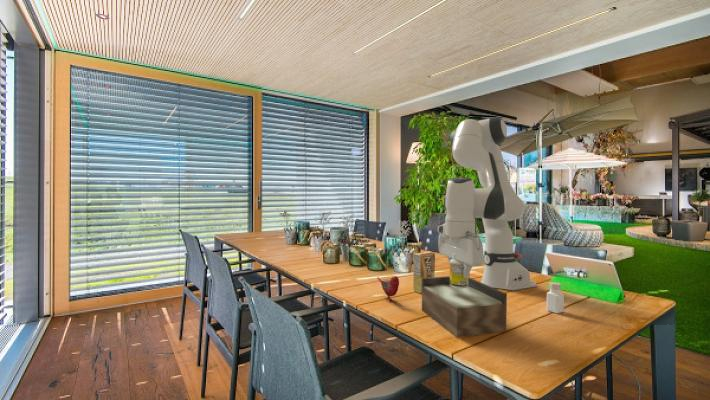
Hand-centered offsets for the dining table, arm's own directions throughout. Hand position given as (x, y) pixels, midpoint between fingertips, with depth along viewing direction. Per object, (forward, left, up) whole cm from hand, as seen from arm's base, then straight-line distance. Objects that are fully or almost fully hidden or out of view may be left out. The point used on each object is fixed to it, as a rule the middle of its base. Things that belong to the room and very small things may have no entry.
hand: (459, 274), depth 106 cm
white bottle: (-36, 0, -15) cm, 39 cm away
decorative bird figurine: (+14, -26, -15) cm, 33 cm away
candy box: (-4, -33, -15) cm, 36 cm away
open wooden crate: (-1, -1, -15) cm, 15 cm away
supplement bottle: (0, 0, -4) cm, 4 cm away
